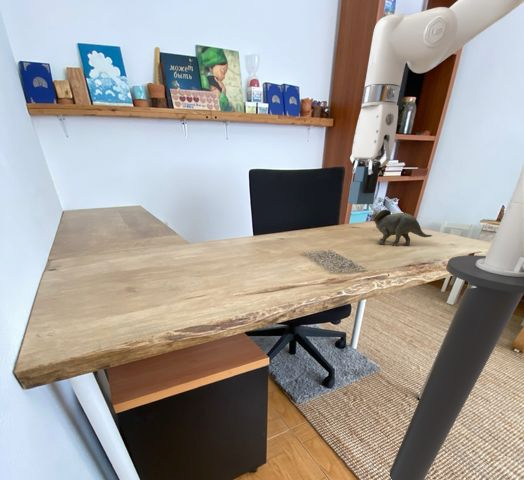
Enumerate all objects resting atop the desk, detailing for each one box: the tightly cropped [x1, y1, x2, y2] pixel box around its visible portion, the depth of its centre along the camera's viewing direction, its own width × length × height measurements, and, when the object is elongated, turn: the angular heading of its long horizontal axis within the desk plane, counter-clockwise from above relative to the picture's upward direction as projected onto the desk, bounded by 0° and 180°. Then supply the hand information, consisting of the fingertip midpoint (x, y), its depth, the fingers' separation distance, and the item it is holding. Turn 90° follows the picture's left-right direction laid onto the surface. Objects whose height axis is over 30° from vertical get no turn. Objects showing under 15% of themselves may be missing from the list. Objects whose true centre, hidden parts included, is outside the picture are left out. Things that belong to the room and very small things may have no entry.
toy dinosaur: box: [370, 204, 433, 247], centre depth 99 cm, size 22×8×11 cm, turn 51°
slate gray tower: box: [347, 166, 378, 205], centre depth 74 cm, size 4×5×8 cm
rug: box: [302, 249, 368, 273], centre depth 83 cm, size 10×20×1 cm, turn 18°
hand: (362, 191), depth 75 cm, fingers closed on slate gray tower, 4 cm apart
